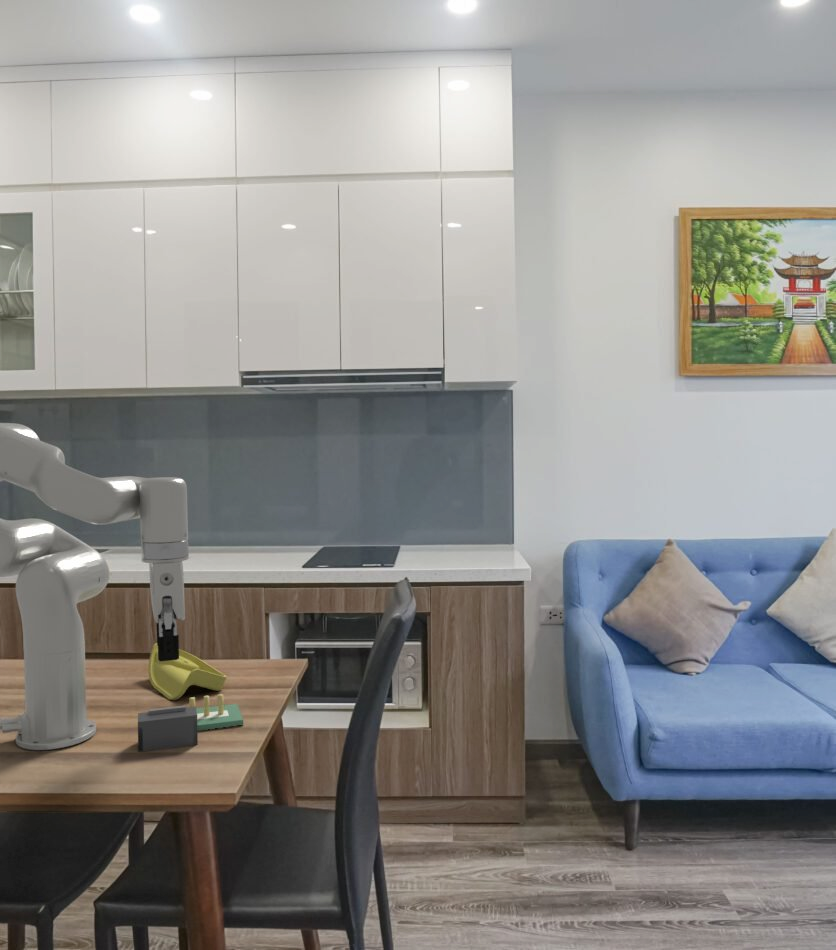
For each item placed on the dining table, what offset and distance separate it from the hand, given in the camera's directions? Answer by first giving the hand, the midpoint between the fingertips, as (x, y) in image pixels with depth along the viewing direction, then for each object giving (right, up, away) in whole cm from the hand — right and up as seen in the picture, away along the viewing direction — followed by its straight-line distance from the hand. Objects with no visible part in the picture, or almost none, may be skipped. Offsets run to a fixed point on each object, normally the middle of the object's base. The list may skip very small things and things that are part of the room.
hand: (167, 652), depth 130 cm
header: (+4, -15, +11) cm, 19 cm away
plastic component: (-7, -15, +32) cm, 36 cm away
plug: (0, -16, +1) cm, 16 cm away
